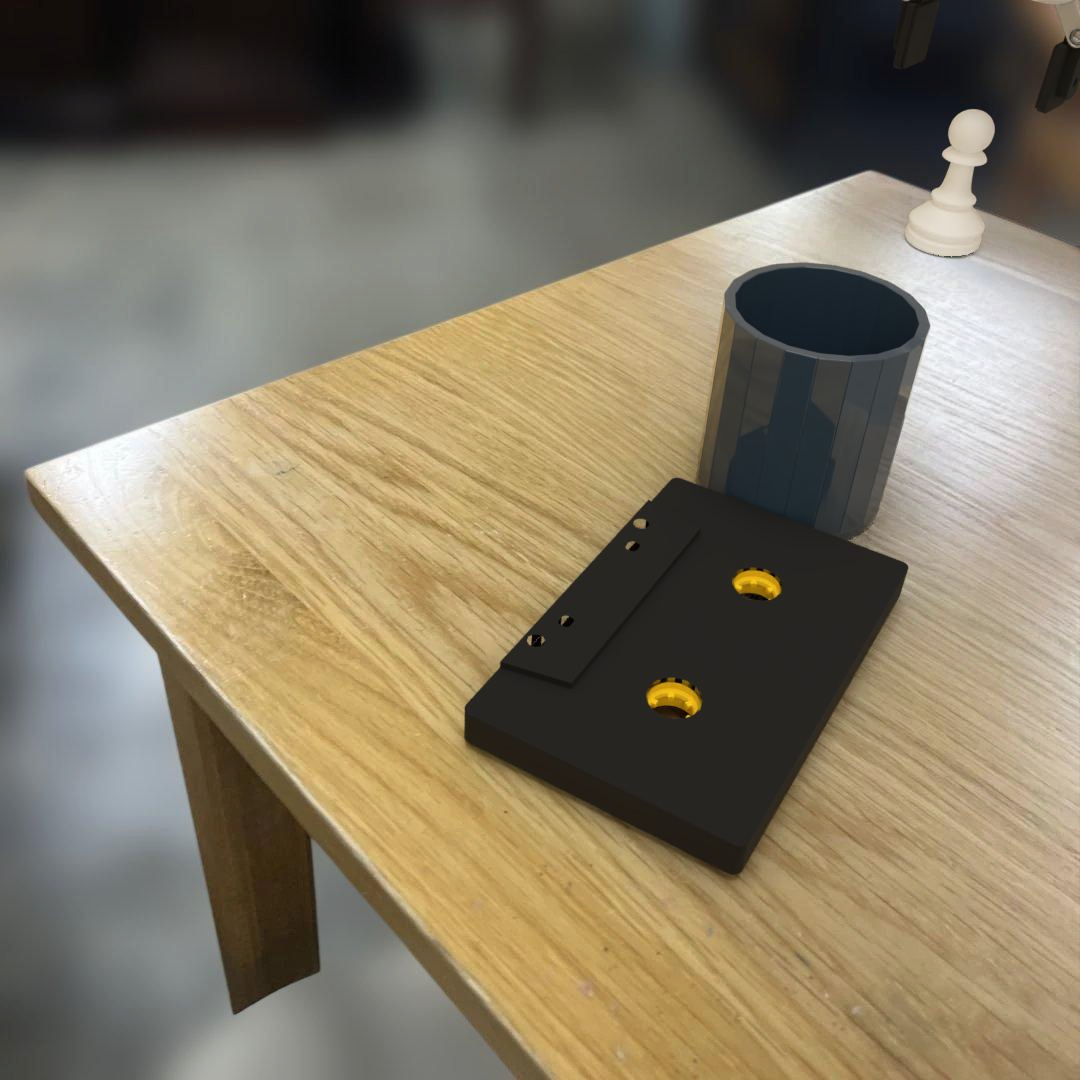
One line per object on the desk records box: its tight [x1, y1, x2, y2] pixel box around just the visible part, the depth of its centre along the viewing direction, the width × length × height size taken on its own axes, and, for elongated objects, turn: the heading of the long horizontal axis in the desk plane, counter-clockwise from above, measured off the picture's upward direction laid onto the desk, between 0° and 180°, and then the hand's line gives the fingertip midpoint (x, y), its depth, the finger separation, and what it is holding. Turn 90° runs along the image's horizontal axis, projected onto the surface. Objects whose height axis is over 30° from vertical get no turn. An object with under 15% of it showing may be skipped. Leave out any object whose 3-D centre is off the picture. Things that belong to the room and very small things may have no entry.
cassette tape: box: [463, 477, 909, 876], centre depth 50 cm, size 18×12×2 cm, turn 149°
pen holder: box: [695, 261, 931, 541], centre depth 58 cm, size 9×9×10 cm
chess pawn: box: [904, 108, 996, 258], centre depth 81 cm, size 5×5×9 cm
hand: (976, 85), depth 77 cm, fingers open, 9 cm apart
